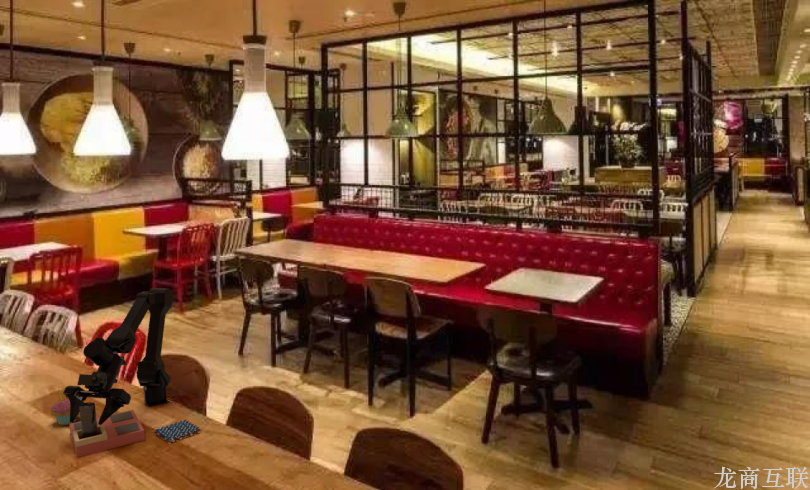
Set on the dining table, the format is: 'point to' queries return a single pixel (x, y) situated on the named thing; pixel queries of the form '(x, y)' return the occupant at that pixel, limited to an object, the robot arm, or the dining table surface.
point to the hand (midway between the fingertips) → (85, 423)
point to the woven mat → (177, 431)
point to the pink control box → (108, 433)
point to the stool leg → (88, 420)
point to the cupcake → (62, 410)
